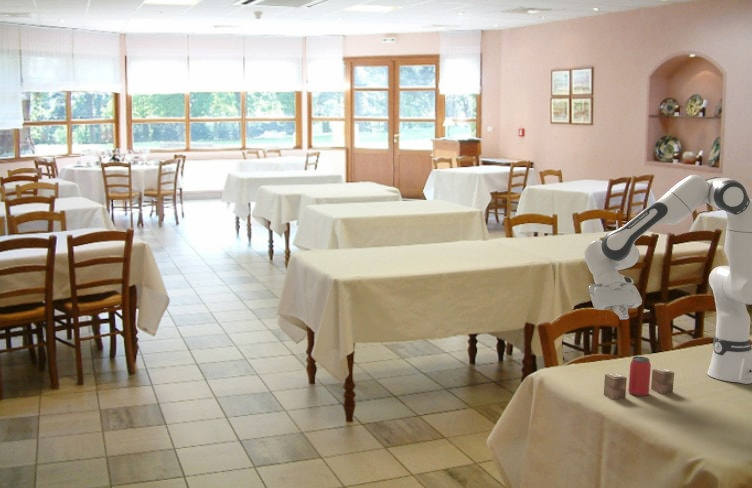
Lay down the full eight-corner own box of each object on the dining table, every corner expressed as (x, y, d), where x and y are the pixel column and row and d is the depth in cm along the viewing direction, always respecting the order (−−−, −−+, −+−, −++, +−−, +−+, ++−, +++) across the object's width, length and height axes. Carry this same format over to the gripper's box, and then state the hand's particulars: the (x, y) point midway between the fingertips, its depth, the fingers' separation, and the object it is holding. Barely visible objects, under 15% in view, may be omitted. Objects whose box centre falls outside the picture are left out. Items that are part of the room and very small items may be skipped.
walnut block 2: (663, 387, 305) (664, 367, 303) (672, 392, 300) (674, 371, 299) (651, 389, 303) (652, 368, 302) (660, 393, 298) (662, 372, 297)
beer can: (649, 397, 294) (652, 362, 292) (628, 395, 296) (631, 360, 294) (647, 391, 301) (650, 356, 299) (627, 389, 302) (630, 355, 300)
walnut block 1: (616, 393, 298) (617, 372, 297) (625, 398, 293) (626, 376, 292) (603, 394, 296) (605, 373, 295) (612, 399, 292) (613, 378, 291)
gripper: (592, 279, 305) (607, 315, 298) (635, 278, 315) (651, 313, 308) (581, 288, 309) (596, 324, 303) (624, 287, 319) (640, 321, 313)
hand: (624, 318), depth 306 cm, fingers closed
